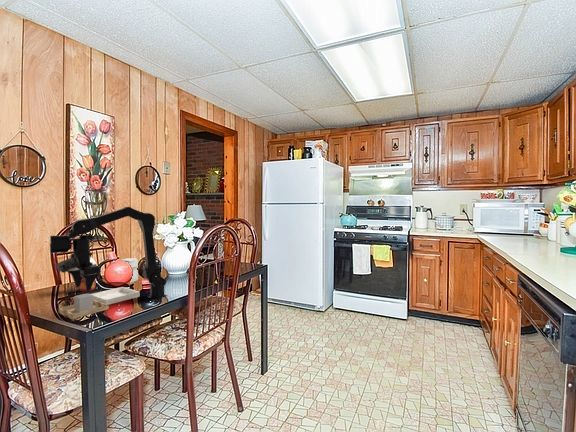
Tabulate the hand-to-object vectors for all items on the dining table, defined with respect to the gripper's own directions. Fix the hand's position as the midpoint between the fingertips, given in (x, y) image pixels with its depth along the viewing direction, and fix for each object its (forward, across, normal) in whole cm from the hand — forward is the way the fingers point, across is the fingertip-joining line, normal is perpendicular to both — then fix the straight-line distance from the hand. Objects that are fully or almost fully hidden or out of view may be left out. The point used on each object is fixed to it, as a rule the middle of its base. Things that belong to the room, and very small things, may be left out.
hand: (82, 288), depth 129 cm
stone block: (+9, 0, 0) cm, 9 cm away
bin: (+9, -7, +16) cm, 20 cm away
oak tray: (+9, 0, 0) cm, 9 cm away
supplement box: (+10, -32, +36) cm, 49 cm away
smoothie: (+10, -32, +15) cm, 37 cm away
